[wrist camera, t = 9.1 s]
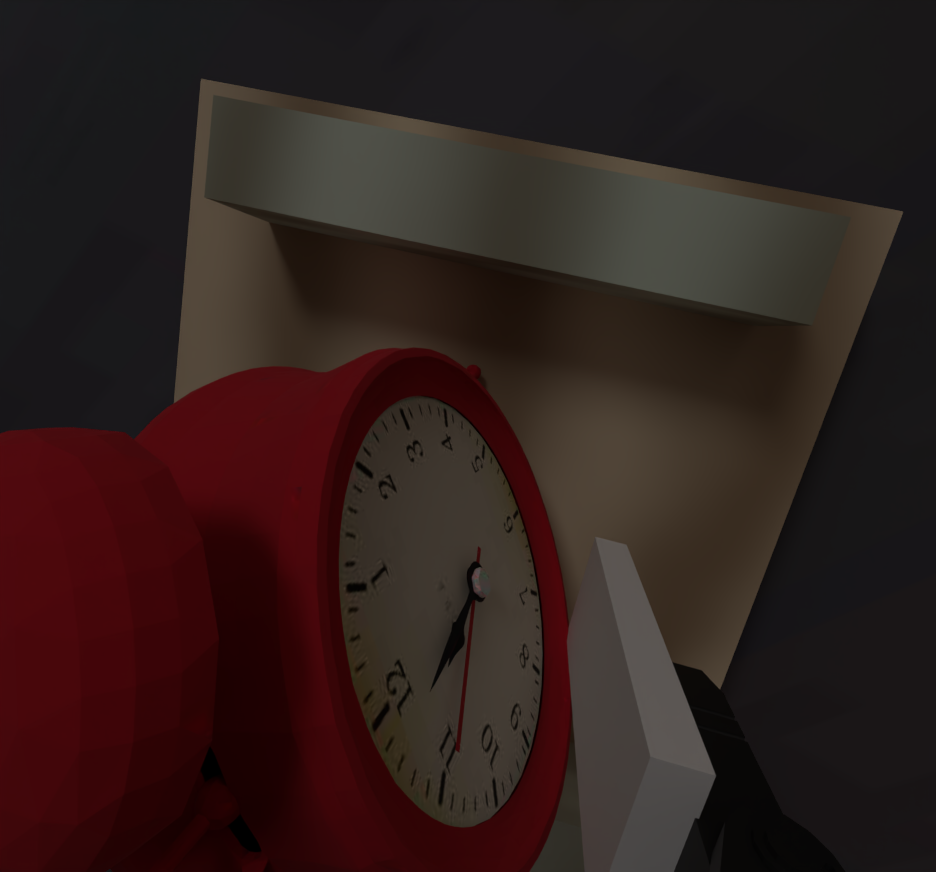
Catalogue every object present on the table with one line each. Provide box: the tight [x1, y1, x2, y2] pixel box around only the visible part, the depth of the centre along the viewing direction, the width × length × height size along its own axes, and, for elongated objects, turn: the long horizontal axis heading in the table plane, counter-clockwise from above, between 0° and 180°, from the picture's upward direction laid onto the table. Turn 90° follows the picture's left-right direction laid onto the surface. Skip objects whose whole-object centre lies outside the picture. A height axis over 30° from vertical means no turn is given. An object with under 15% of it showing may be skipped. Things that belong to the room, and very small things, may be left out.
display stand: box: [174, 79, 903, 872], centre depth 16 cm, size 19×21×6 cm
